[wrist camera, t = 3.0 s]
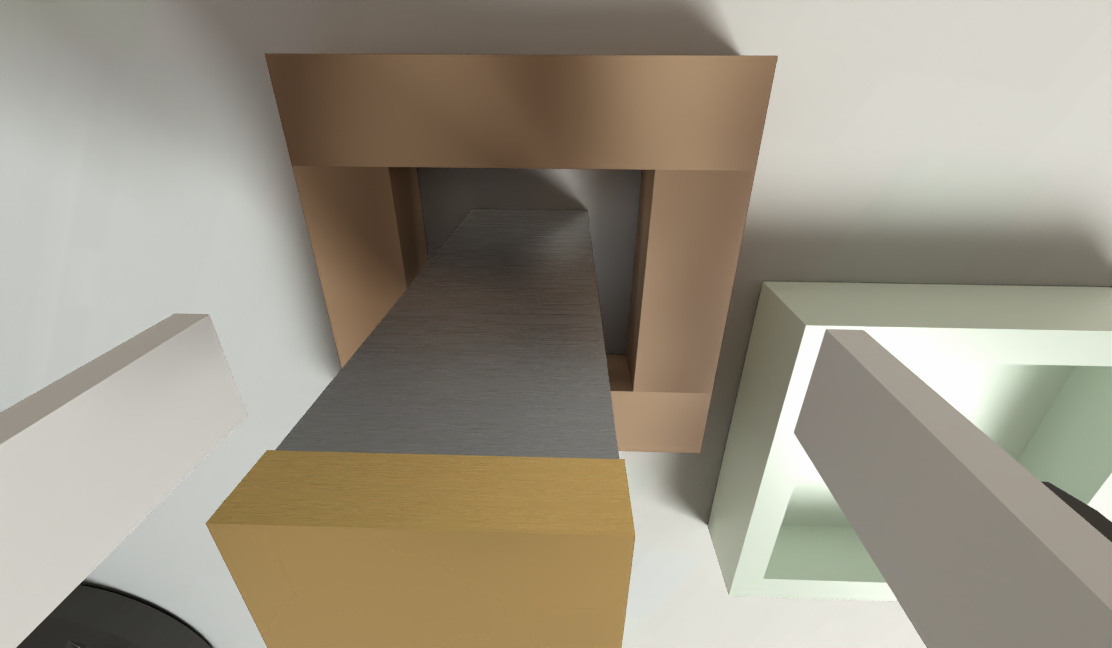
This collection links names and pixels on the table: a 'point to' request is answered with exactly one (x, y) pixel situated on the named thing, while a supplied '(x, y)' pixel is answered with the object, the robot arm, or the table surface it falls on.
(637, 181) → the table surface
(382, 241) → the socket block
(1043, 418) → the bin
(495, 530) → the strut
